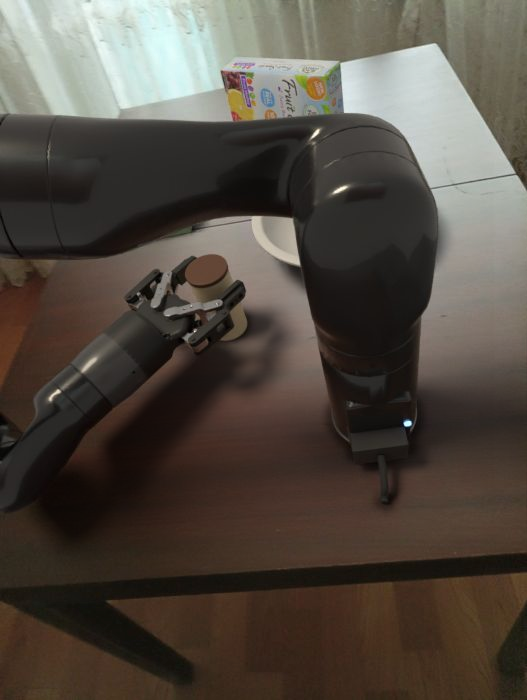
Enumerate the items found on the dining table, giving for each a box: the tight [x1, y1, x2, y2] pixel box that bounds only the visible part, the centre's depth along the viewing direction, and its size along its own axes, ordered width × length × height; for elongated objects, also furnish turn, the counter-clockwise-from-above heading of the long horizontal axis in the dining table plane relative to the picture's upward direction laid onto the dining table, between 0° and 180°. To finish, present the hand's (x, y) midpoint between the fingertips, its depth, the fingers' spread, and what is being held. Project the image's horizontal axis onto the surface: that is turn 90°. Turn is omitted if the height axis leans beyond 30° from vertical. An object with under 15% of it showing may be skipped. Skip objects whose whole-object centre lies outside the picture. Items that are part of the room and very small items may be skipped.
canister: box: [185, 253, 248, 342], centre depth 65 cm, size 5×5×11 cm
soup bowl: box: [251, 216, 301, 268], centre depth 73 cm, size 24×24×7 cm
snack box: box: [219, 56, 345, 121], centre depth 88 cm, size 21×6×15 cm, turn 58°
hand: (219, 272), depth 63 cm, fingers open, 8 cm apart
